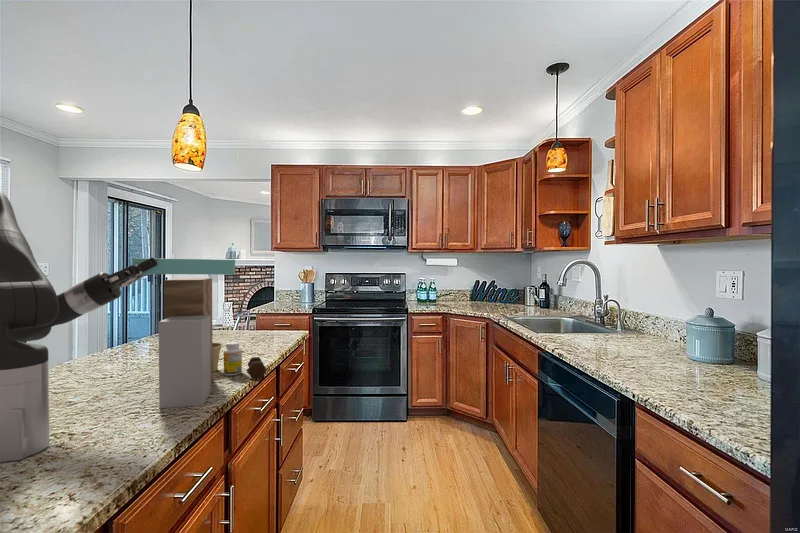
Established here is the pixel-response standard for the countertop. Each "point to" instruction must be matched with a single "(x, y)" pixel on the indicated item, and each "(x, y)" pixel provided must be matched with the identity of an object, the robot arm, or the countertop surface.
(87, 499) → the countertop surface
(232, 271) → the teal bar
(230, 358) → the supplement bottle
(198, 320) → the grey block
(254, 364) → the hex dumbbell
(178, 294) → the walnut stand
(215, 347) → the flower pot
